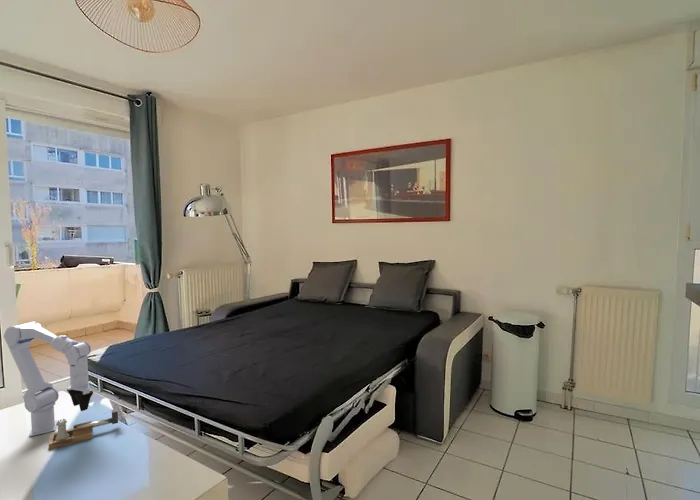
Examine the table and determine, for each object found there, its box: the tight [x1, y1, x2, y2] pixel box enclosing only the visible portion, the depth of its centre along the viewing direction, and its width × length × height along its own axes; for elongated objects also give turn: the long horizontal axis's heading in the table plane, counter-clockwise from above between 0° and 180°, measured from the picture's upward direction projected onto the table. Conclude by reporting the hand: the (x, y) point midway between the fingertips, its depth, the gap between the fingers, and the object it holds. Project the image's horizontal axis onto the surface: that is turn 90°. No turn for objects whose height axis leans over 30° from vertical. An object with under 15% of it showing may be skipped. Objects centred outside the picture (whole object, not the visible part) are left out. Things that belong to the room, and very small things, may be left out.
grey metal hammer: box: [77, 408, 119, 429], centre depth 148 cm, size 3×14×5 cm, turn 124°
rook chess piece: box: [54, 418, 70, 441], centre depth 142 cm, size 4×4×8 cm
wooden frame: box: [48, 420, 93, 450], centre depth 143 cm, size 9×13×4 cm
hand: (80, 407), depth 148 cm, fingers open, 7 cm apart
